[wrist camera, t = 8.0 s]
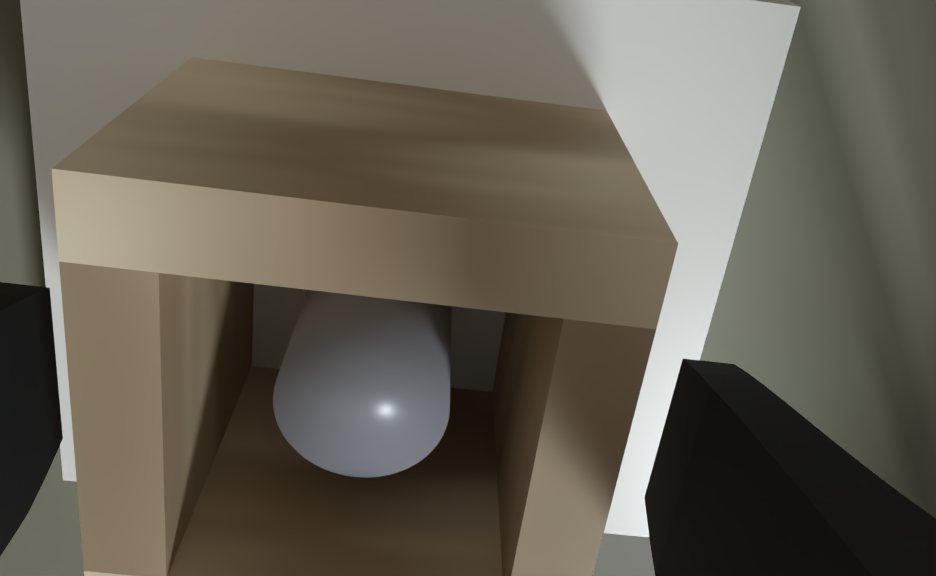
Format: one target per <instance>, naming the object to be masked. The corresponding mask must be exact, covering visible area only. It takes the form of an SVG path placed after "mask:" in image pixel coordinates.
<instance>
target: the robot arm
mask: <svg viewBox="0 0 936 576" xmlns="http://www.w3.org/2000/svg"><path fill="white" fill-rule="evenodd" d="M62 439H63V435H62V423H61V412H60V400H59V389H58V377H57V366H56V355H55V343H54V332H53V320H52V309H51V297H50V288H47V287H38V286H29V285H20V284H11V283H2V282H0V556H1V554H2V553H3V551H4V550H5V548H6V547H7V545H8V543H9V542H10V540H11V539H12V537H13V536H14V534H15V533H16V531H17V530H18V528H19V526H20V525H21V523H22V522H23V520H24V518H25V517H26V515H27V514H28V512H29V510H30V508H31V506H32V504H33V502H34V500H35V498H36V496H37V493H38V491H39V489H40V487H41V485H42V483H43V481H44V479H45V477H46V475H47V473H48V470H49V468H50V466H51V464H52V461H53V459H54V457H55V455H56V453H57V450H58V448H59V446H60V444H61V441H62ZM644 499H645V506H646V514H647V522H648V530H649V538H650V544H651V551H652V557H653V564H654V570H655V575H656V576H936V519H935V518H934V517H933V516H931V515H930V514H928V513H927V512H926V511H924V510H923V509H921V508H920V507H919V506H917V505H916V504H915V503H913V502H912V501H910V500H909V499H908V498H906V497H905V496H903V495H902V494H901V493H899V492H898V491H897V490H895V489H894V488H893V487H891V486H890V485H889V484H887V483H886V482H885V481H883V480H882V479H881V478H879V477H878V476H877V475H876V474H874V473H873V472H872V471H870V470H869V469H868V468H866V467H865V466H864V465H863V464H861V463H860V462H859V461H858V460H856V459H855V458H854V457H852V456H851V455H850V454H849V453H847V452H846V451H845V450H844V449H842V448H841V447H840V446H839V445H837V444H836V443H835V442H834V441H832V440H831V439H830V438H829V437H827V436H826V435H825V434H824V433H823V432H821V431H820V430H819V429H818V428H816V427H815V426H814V425H813V424H811V423H810V422H809V421H808V420H807V419H805V418H804V417H803V416H802V415H800V414H799V413H798V412H797V411H795V410H794V409H793V408H792V407H791V406H789V405H788V404H787V403H786V402H784V401H783V400H782V399H781V398H779V397H778V396H777V395H776V394H774V393H773V392H772V391H771V390H769V389H768V388H767V387H766V386H764V385H763V384H762V383H760V382H759V381H758V380H756V379H755V378H754V377H752V376H751V375H750V374H748V373H747V372H745V371H744V370H742V369H741V368H739V367H738V366H736V365H734V364H727V363H718V362H709V361H700V360H691V359H683V360H682V363H681V367H680V370H679V374H678V378H677V381H676V385H675V389H674V392H673V396H672V399H671V403H670V407H669V410H668V414H667V418H666V421H665V425H664V428H663V432H662V436H661V439H660V443H659V447H658V450H657V454H656V457H655V461H654V465H653V468H652V472H651V475H650V479H649V483H648V486H647V490H646V494H645V497H644Z"/></svg>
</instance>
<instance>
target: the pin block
mask: <svg viewBox="0 0 936 576" xmlns="http://www.w3.org/2000/svg"><path fill="white" fill-rule="evenodd" d="M20 6H21V17H22V28H23V39H24V51H25V62H26V73H27V84H28V95H29V106H30V117H31V128H32V139H33V150H34V162H35V173H36V184H37V195H38V206H39V217H40V228H41V239H42V250H43V261H44V273H45V284H46V287H47V288H50V297H51V309H52V320H53V332H54V343H55V355H56V366H57V377H58V389H59V400H60V412H61V423H62V435H63V439H62V441H61V444H60V450H61V461H62V472H63V480H67V481H77V480H76V467H75V455H74V442H73V430H72V418H71V405H70V393H69V380H68V368H67V355H66V343H65V330H64V318H63V306H62V293H61V281H60V268H59V256H58V243H57V231H56V219H55V206H54V194H53V181H52V168H53V167H54V166H55V165H57V164H58V163H59V162H60V161H62V160H63V159H64V158H65V157H67V156H68V155H69V154H71V153H72V152H73V151H74V150H76V149H77V148H78V147H79V146H81V145H82V144H83V143H84V142H86V141H87V140H88V139H89V138H91V137H92V136H93V135H94V134H96V133H97V132H98V131H99V130H101V129H102V128H103V127H104V126H106V125H107V124H108V123H109V122H111V121H112V120H113V119H114V118H116V117H117V116H118V115H119V114H121V113H122V112H123V111H125V110H126V109H127V108H128V107H130V106H131V105H132V104H133V103H135V102H136V101H137V100H138V99H140V98H141V97H142V96H143V95H145V94H146V93H147V92H148V91H150V90H151V89H152V88H153V87H155V86H156V85H157V84H158V83H160V82H161V81H162V80H163V79H165V78H166V77H167V76H168V75H170V74H171V73H172V72H173V71H175V70H176V69H177V68H179V67H180V66H181V65H182V64H184V63H185V62H186V61H187V60H189V59H190V58H191V57H193V58H201V59H209V60H217V61H224V62H232V63H240V64H248V65H255V66H263V67H271V68H279V69H286V70H294V71H302V72H310V73H317V74H325V75H333V76H341V77H348V78H356V79H364V80H372V81H379V82H387V83H395V84H403V85H410V86H418V87H426V88H434V89H441V90H449V91H457V92H465V93H472V94H480V95H488V96H496V97H503V98H511V99H519V100H527V101H534V102H542V103H550V104H558V105H565V106H573V107H581V108H589V109H596V110H604V111H607V112H608V114H609V116H610V118H611V120H612V121H613V123H614V125H615V127H616V129H617V131H618V133H619V134H620V136H621V138H622V140H623V142H624V144H625V146H626V147H627V149H628V151H629V153H630V155H631V157H632V159H633V160H634V162H635V164H636V166H637V168H638V170H639V172H640V173H641V175H642V177H643V179H644V181H645V183H646V185H647V186H648V188H649V190H650V192H651V194H652V196H653V198H654V200H655V201H656V203H657V205H658V207H659V209H660V211H661V213H662V214H663V216H664V218H665V220H666V222H667V224H668V226H669V227H670V229H671V231H672V233H673V235H674V237H675V239H676V240H677V242H678V247H677V251H676V255H675V259H674V263H673V267H672V270H671V274H670V278H669V282H668V286H667V290H666V294H665V298H664V301H663V305H662V309H661V313H660V317H659V321H658V325H657V329H656V332H655V336H654V340H653V344H652V348H651V352H650V356H649V359H648V363H647V367H646V371H645V375H644V379H643V383H642V387H641V390H640V394H639V398H638V402H637V406H636V410H635V414H634V418H633V421H632V425H631V429H630V433H629V437H628V441H627V445H626V449H625V452H624V456H623V460H622V464H621V468H620V472H619V476H618V480H617V483H616V487H615V491H614V495H613V499H612V503H611V507H610V511H609V514H608V518H607V522H606V526H605V530H604V533H611V534H621V535H631V536H641V537H649V530H648V522H647V514H646V506H645V499H644V497H645V494H646V490H647V486H648V483H649V479H650V475H651V472H652V468H653V465H654V461H655V457H656V454H657V450H658V447H659V443H660V439H661V436H662V432H663V428H664V425H665V421H666V418H667V414H668V410H669V407H670V403H671V399H672V396H673V392H674V389H675V385H676V381H677V378H678V374H679V370H680V367H681V363H682V360H683V359H691V360H700V357H701V353H702V350H703V346H704V343H705V339H706V336H707V332H708V329H709V325H710V322H711V318H712V315H713V311H714V308H715V304H716V301H717V297H718V294H719V290H720V287H721V283H722V280H723V277H724V273H725V270H726V266H727V263H728V259H729V256H730V252H731V249H732V245H733V242H734V238H735V235H736V231H737V228H738V224H739V221H740V217H741V214H742V210H743V207H744V203H745V200H746V196H747V193H748V189H749V186H750V182H751V179H752V175H753V172H754V168H755V165H756V161H757V158H758V154H759V151H760V147H761V144H762V141H763V137H764V134H765V130H766V127H767V123H768V120H769V116H770V113H771V109H772V106H773V102H774V99H775V95H776V92H777V88H778V85H779V81H780V78H781V74H782V71H783V67H784V64H785V60H786V57H787V53H788V50H789V46H790V43H791V39H792V36H793V32H794V29H795V25H796V22H797V18H798V15H799V11H800V8H801V7H800V6H798V5H796V4H794V3H792V2H790V1H788V0H20ZM505 315H506V312H499V311H490V310H481V309H473V308H464V307H455V306H446V305H437V304H429V303H420V302H411V301H402V300H393V299H384V298H376V297H367V296H358V295H349V294H340V293H332V292H323V291H314V290H305V289H296V288H288V287H279V286H270V285H261V284H254V298H253V335H252V366H256V367H265V368H275V369H280V371H279V374H278V376H277V379H276V383H275V386H274V393H273V409H274V414H275V418H276V421H277V424H278V426H279V428H280V430H281V432H282V434H283V436H284V437H285V438H286V440H287V441H288V443H289V444H290V445H291V446H292V447H293V448H294V449H295V450H296V451H297V452H298V453H299V454H300V455H302V456H303V457H304V458H305V459H307V460H308V461H310V462H311V463H313V464H315V465H317V466H319V467H321V468H323V469H325V470H328V471H330V472H333V473H337V474H341V475H345V476H351V477H364V478H368V477H380V476H386V475H390V474H394V473H398V472H400V471H403V470H405V469H408V468H410V467H411V466H413V465H415V464H417V463H418V462H420V461H421V460H422V459H424V458H425V457H426V456H427V455H428V454H429V453H430V452H431V451H433V449H434V448H435V447H436V446H437V444H438V443H439V441H440V440H441V438H442V436H443V435H444V432H445V430H446V427H447V424H448V419H449V412H450V387H451V388H460V389H470V390H479V391H488V392H492V391H493V385H494V379H495V373H496V367H497V362H498V356H499V350H500V344H501V338H502V332H503V326H504V321H505Z"/></svg>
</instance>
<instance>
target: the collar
mask: <svg viewBox="0 0 936 576" xmlns="http://www.w3.org/2000/svg"><path fill="white" fill-rule="evenodd" d="M52 181H53V194H54V206H55V219H56V231H57V243H58V256H59V268H60V281H61V293H62V306H63V318H64V330H65V343H66V355H67V368H68V380H69V393H70V405H71V418H72V430H73V442H74V455H75V467H76V480H77V492H78V505H79V517H80V529H81V542H82V554H83V567H84V576H593V573H594V569H595V565H596V561H597V557H598V553H599V549H600V545H601V542H602V538H603V534H604V530H605V526H606V522H607V518H608V514H609V511H610V507H611V503H612V499H613V495H614V491H615V487H616V483H617V480H618V476H619V472H620V468H621V464H622V460H623V456H624V452H625V449H626V445H627V441H628V437H629V433H630V429H631V425H632V421H633V418H634V414H635V410H636V406H637V402H638V398H639V394H640V390H641V387H642V383H643V379H644V375H645V371H646V367H647V363H648V359H649V356H650V352H651V348H652V344H653V340H654V336H655V332H656V329H657V325H658V321H659V317H660V313H661V309H662V305H663V301H664V298H665V294H666V290H667V286H668V282H669V278H670V274H671V270H672V267H673V263H674V259H675V255H676V251H677V247H678V242H677V240H676V239H675V237H674V235H673V233H672V231H671V229H670V227H669V226H668V224H667V222H666V220H665V218H664V216H663V214H662V213H661V211H660V209H659V207H658V205H657V203H656V201H655V200H654V198H653V196H652V194H651V192H650V190H649V188H648V186H647V185H646V183H645V181H644V179H643V177H642V175H641V173H640V172H639V170H638V168H637V166H636V164H635V162H634V160H633V159H632V157H631V155H630V153H629V151H628V149H627V147H626V146H625V144H624V142H623V140H622V138H621V136H620V134H619V133H618V131H617V129H616V127H615V125H614V123H613V121H612V120H611V118H610V116H609V114H608V112H607V111H604V110H596V109H589V108H581V107H573V106H565V105H558V104H550V103H542V102H534V101H527V100H519V99H511V98H503V97H496V96H488V95H480V94H472V93H465V92H457V91H449V90H441V89H434V88H426V87H418V86H410V85H403V84H395V83H387V82H379V81H372V80H364V79H356V78H348V77H341V76H333V75H325V74H317V73H310V72H302V71H294V70H286V69H279V68H271V67H263V66H255V65H248V64H240V63H232V62H224V61H217V60H209V59H201V58H193V57H191V58H190V59H189V60H187V61H186V62H185V63H184V64H182V65H181V66H180V67H179V68H177V69H176V70H175V71H173V72H172V73H171V74H170V75H168V76H167V77H166V78H165V79H163V80H162V81H161V82H160V83H158V84H157V85H156V86H155V87H153V88H152V89H151V90H150V91H148V92H147V93H146V94H145V95H143V96H142V97H141V98H140V99H138V100H137V101H136V102H135V103H133V104H132V105H131V106H130V107H128V108H127V109H126V110H125V111H123V112H122V113H121V114H119V115H118V116H117V117H116V118H114V119H113V120H112V121H111V122H109V123H108V124H107V125H106V126H104V127H103V128H102V129H101V130H99V131H98V132H97V133H96V134H94V135H93V136H92V137H91V138H89V139H88V140H87V141H86V142H84V143H83V144H82V145H81V146H79V147H78V148H77V149H76V150H74V151H73V152H72V153H71V154H69V155H68V156H67V157H65V158H64V159H63V160H62V161H60V162H59V163H58V164H57V165H55V166H54V167H53V168H52ZM254 284H261V285H270V286H279V287H288V288H296V289H305V290H314V291H323V292H332V293H340V294H349V295H358V296H367V297H376V298H384V299H393V300H402V301H411V302H420V303H429V304H437V305H446V306H455V307H464V308H473V309H481V310H490V311H499V312H506V315H505V321H504V326H503V332H502V338H501V344H500V350H499V356H498V362H497V367H496V373H495V379H494V385H493V391H492V392H488V391H479V390H470V389H460V388H451V387H450V412H449V419H448V424H447V427H446V430H445V432H444V435H443V436H442V438H441V440H440V441H439V443H438V444H437V446H436V447H435V448H434V449H433V451H431V452H430V453H429V454H428V455H427V456H426V457H425V458H424V459H422V460H421V461H420V462H418V463H417V464H415V465H413V466H411V467H410V468H408V469H405V470H403V471H400V472H398V473H394V474H390V475H386V476H380V477H368V478H364V477H351V476H345V475H341V474H337V473H333V472H330V471H328V470H325V469H323V468H321V467H319V466H317V465H315V464H313V463H311V462H310V461H308V460H307V459H305V458H304V457H303V456H302V455H300V454H299V453H298V452H297V451H296V450H295V449H294V448H293V447H292V446H291V445H290V444H289V443H288V441H287V440H286V438H285V437H284V436H283V434H282V432H281V430H280V428H279V426H278V424H277V421H276V418H275V414H274V409H273V393H274V386H275V383H276V379H277V376H278V374H279V371H280V369H275V368H265V367H256V366H252V335H253V298H254Z"/></svg>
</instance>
